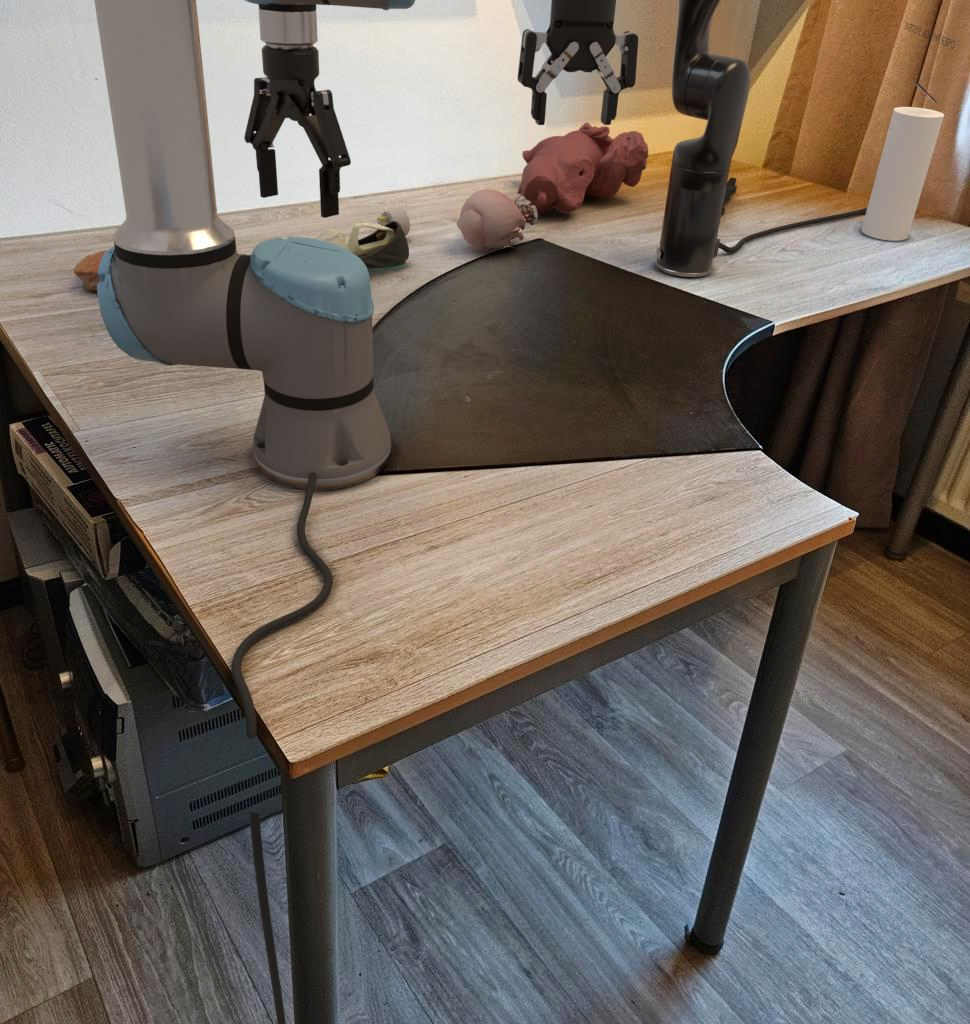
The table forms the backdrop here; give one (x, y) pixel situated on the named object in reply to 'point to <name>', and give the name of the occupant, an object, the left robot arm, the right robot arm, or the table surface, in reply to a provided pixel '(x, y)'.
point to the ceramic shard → (89, 270)
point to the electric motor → (395, 219)
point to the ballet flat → (373, 245)
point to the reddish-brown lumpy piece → (581, 167)
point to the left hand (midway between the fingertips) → (298, 205)
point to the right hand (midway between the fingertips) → (572, 123)
